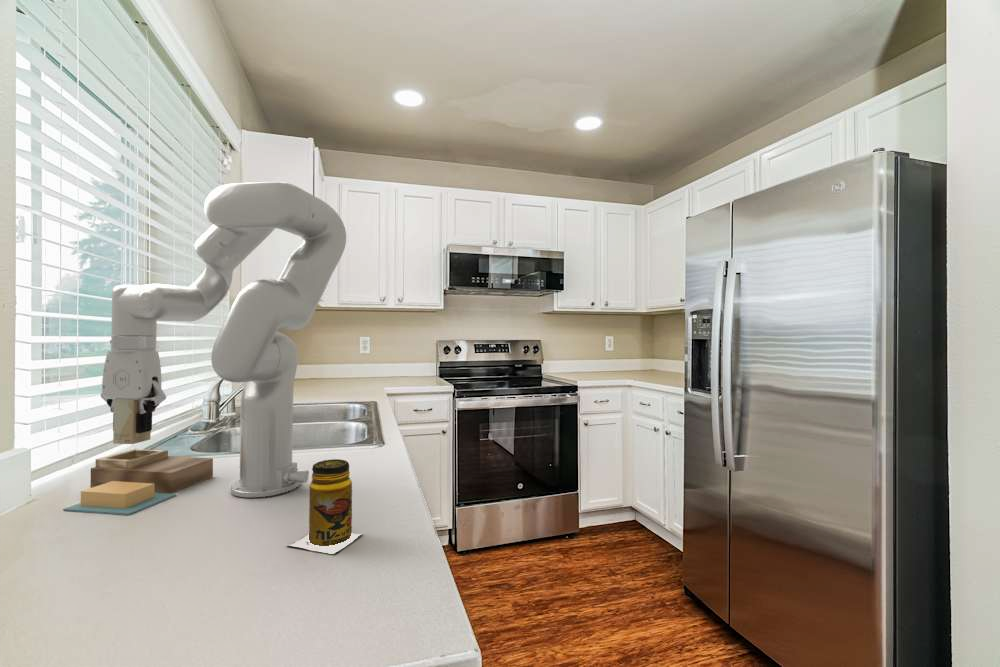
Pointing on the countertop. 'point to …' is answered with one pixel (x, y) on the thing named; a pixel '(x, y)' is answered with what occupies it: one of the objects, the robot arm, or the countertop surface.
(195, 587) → the countertop surface
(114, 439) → the box
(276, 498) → the countertop surface
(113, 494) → the tan rectangular block
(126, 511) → the mat
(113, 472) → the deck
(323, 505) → the condiment
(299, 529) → the countertop surface
